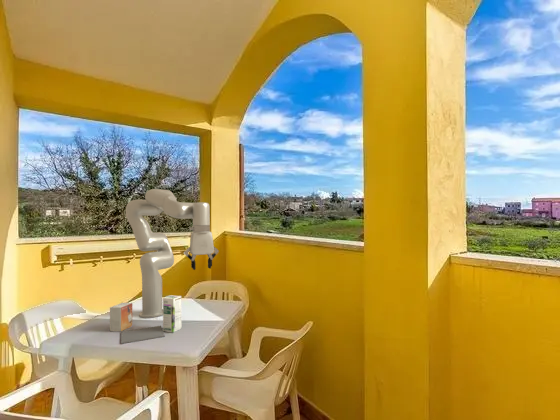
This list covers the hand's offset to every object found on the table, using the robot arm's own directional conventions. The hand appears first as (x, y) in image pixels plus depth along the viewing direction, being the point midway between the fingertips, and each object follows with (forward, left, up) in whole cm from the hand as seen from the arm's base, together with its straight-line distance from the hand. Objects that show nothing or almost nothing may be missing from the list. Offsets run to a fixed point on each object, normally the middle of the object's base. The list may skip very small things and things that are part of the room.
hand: (201, 268), depth 146 cm
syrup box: (0, -13, -26) cm, 29 cm away
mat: (0, -25, -26) cm, 36 cm away
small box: (-13, -33, -26) cm, 44 cm away
